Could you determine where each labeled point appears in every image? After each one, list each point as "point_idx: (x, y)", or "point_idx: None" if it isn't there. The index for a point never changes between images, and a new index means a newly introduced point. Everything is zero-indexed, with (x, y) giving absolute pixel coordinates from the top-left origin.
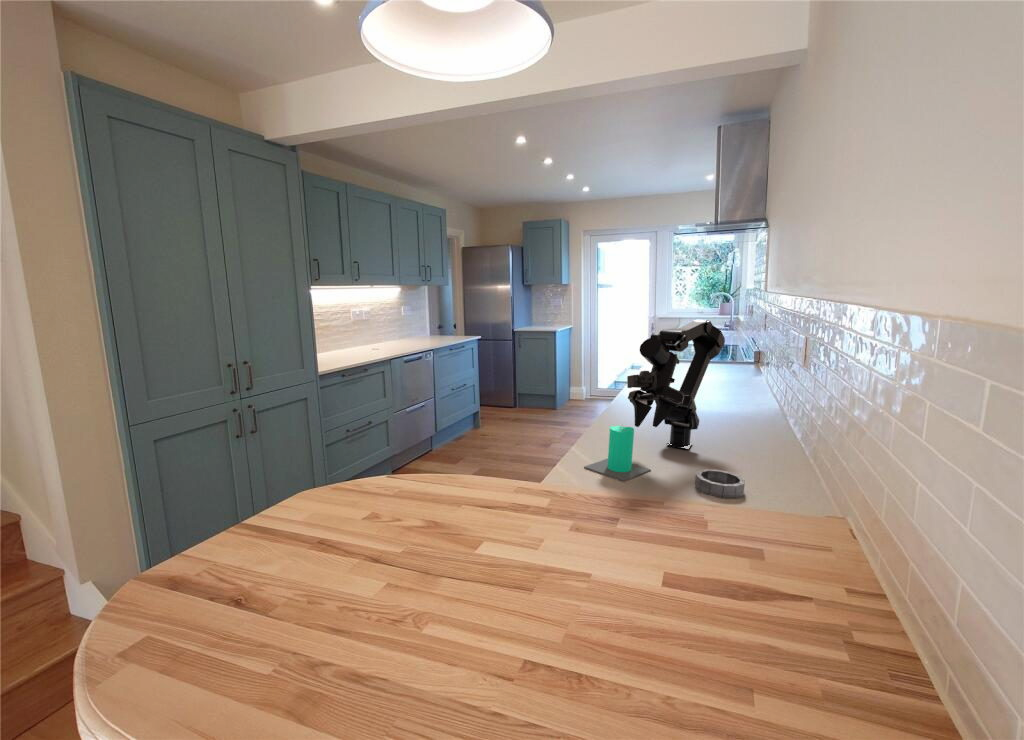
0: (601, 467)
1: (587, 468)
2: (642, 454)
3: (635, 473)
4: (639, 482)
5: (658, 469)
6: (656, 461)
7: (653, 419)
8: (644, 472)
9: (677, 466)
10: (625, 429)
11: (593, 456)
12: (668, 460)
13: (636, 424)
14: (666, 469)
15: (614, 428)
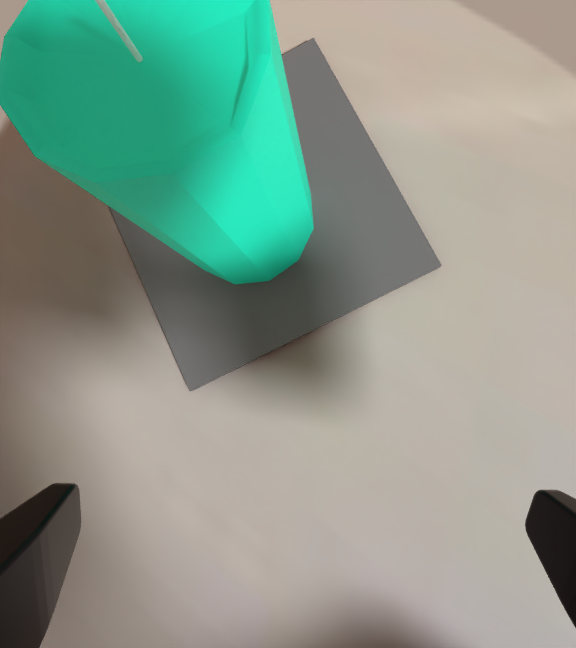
0: None
1: (293, 52)
2: (482, 527)
3: (156, 268)
4: (74, 240)
5: (203, 451)
6: (330, 532)
7: (29, 539)
8: (163, 329)
9: (220, 607)
10: (155, 113)
11: (501, 172)
12: (331, 629)
13: (548, 511)
14: (192, 500)
15: (221, 3)
